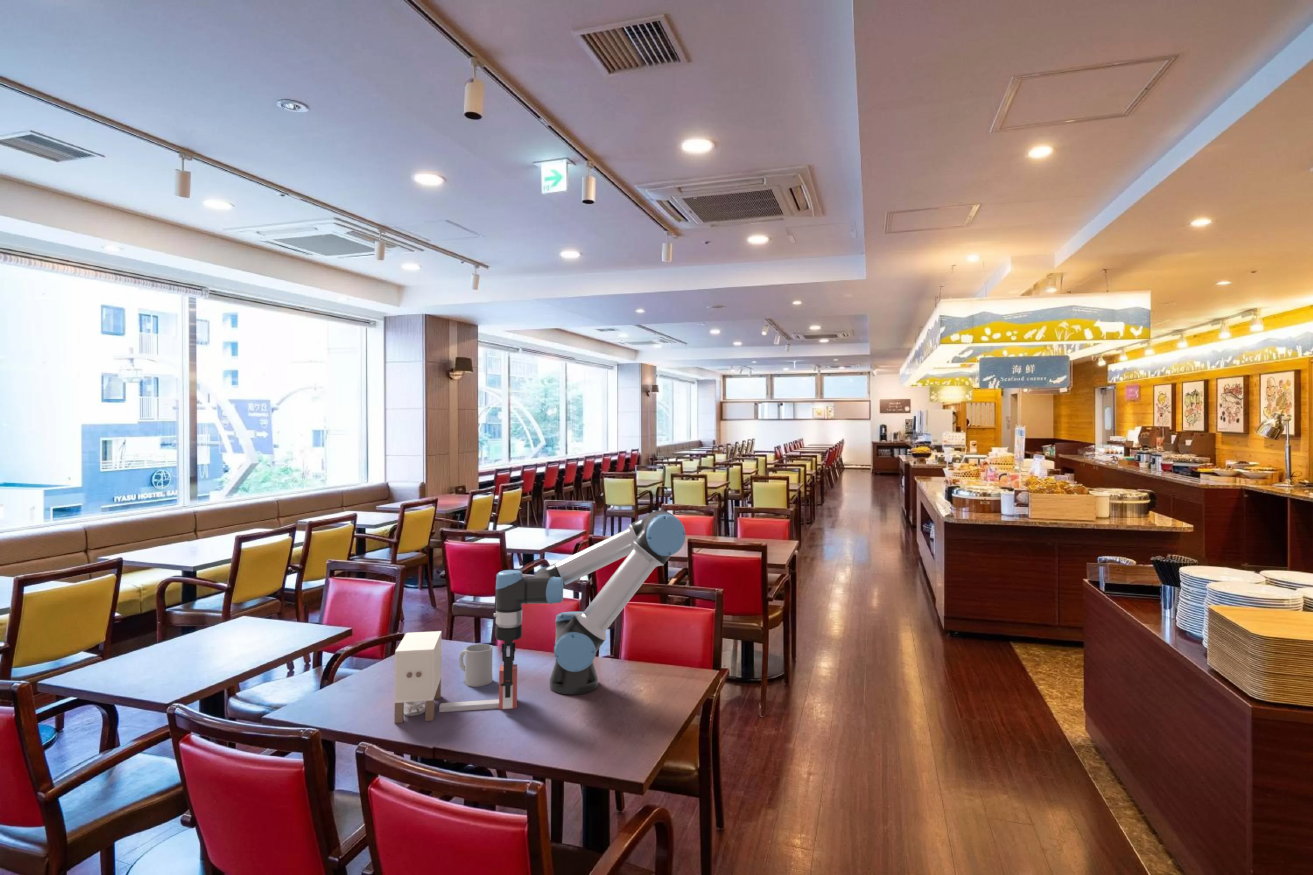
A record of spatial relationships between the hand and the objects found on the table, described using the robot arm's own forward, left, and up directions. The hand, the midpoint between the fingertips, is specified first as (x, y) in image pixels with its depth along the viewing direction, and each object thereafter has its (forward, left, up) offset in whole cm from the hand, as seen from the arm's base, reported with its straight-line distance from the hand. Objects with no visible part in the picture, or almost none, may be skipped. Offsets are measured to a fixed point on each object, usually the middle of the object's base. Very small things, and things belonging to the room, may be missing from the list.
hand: (508, 700), depth 194 cm
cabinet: (+25, -2, -1) cm, 25 cm away
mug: (+11, -22, -2) cm, 25 cm away
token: (+26, 0, -2) cm, 26 cm away
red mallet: (+8, 0, -2) cm, 8 cm away
